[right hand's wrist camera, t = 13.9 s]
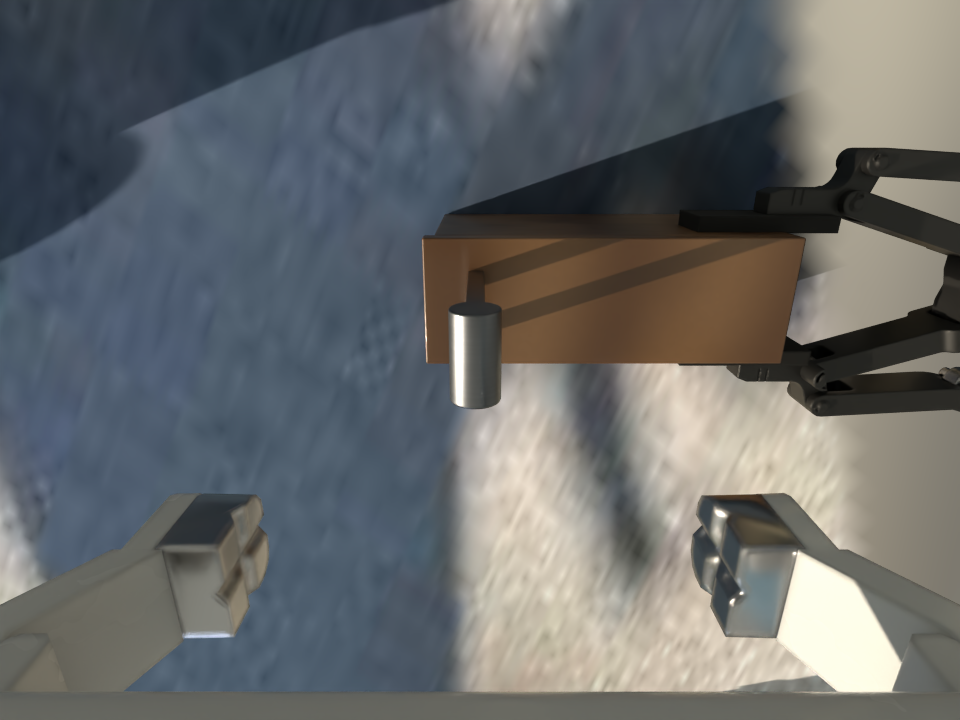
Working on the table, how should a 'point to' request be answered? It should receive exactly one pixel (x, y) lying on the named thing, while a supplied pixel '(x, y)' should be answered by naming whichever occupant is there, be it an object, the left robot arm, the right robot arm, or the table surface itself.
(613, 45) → the table surface
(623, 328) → the lid
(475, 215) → the chest
